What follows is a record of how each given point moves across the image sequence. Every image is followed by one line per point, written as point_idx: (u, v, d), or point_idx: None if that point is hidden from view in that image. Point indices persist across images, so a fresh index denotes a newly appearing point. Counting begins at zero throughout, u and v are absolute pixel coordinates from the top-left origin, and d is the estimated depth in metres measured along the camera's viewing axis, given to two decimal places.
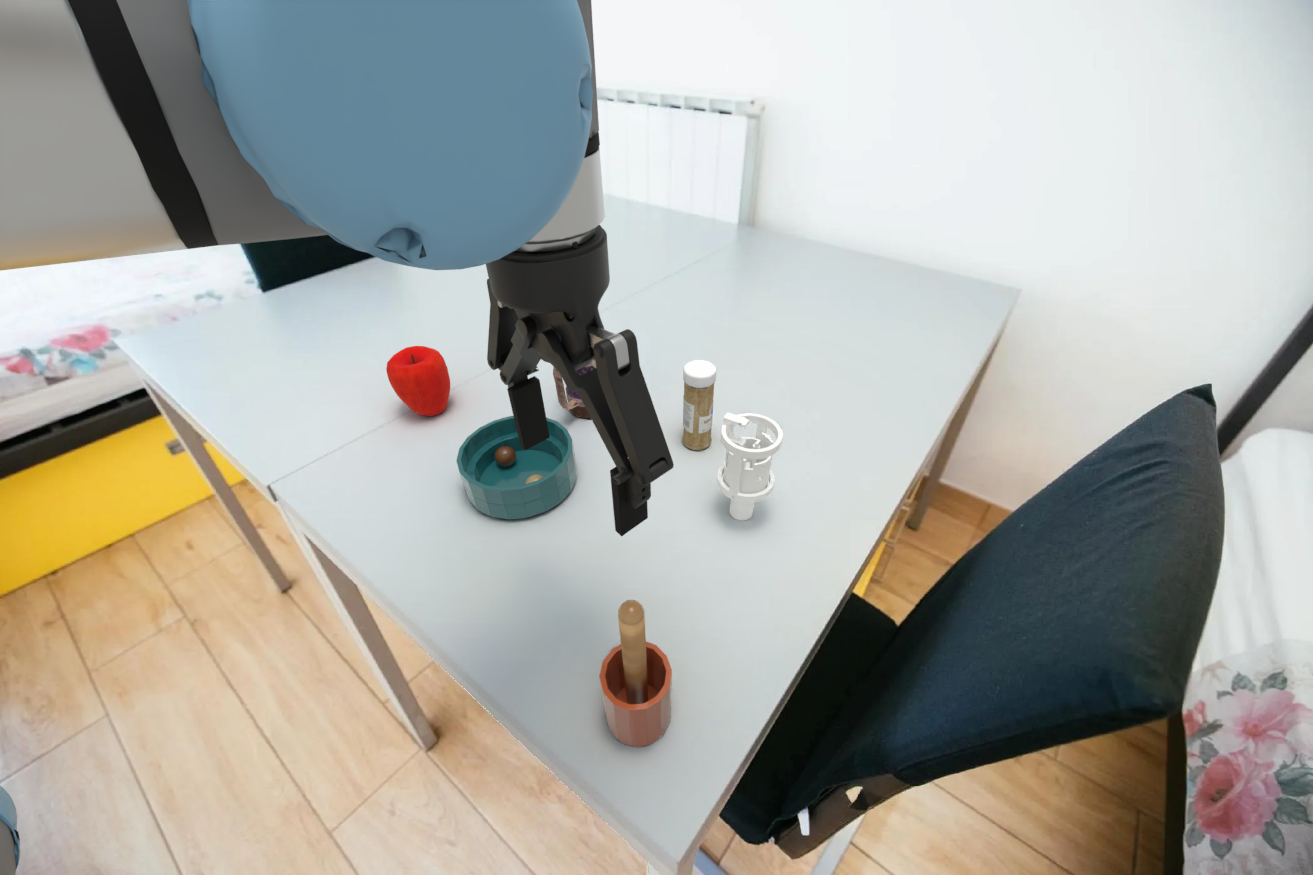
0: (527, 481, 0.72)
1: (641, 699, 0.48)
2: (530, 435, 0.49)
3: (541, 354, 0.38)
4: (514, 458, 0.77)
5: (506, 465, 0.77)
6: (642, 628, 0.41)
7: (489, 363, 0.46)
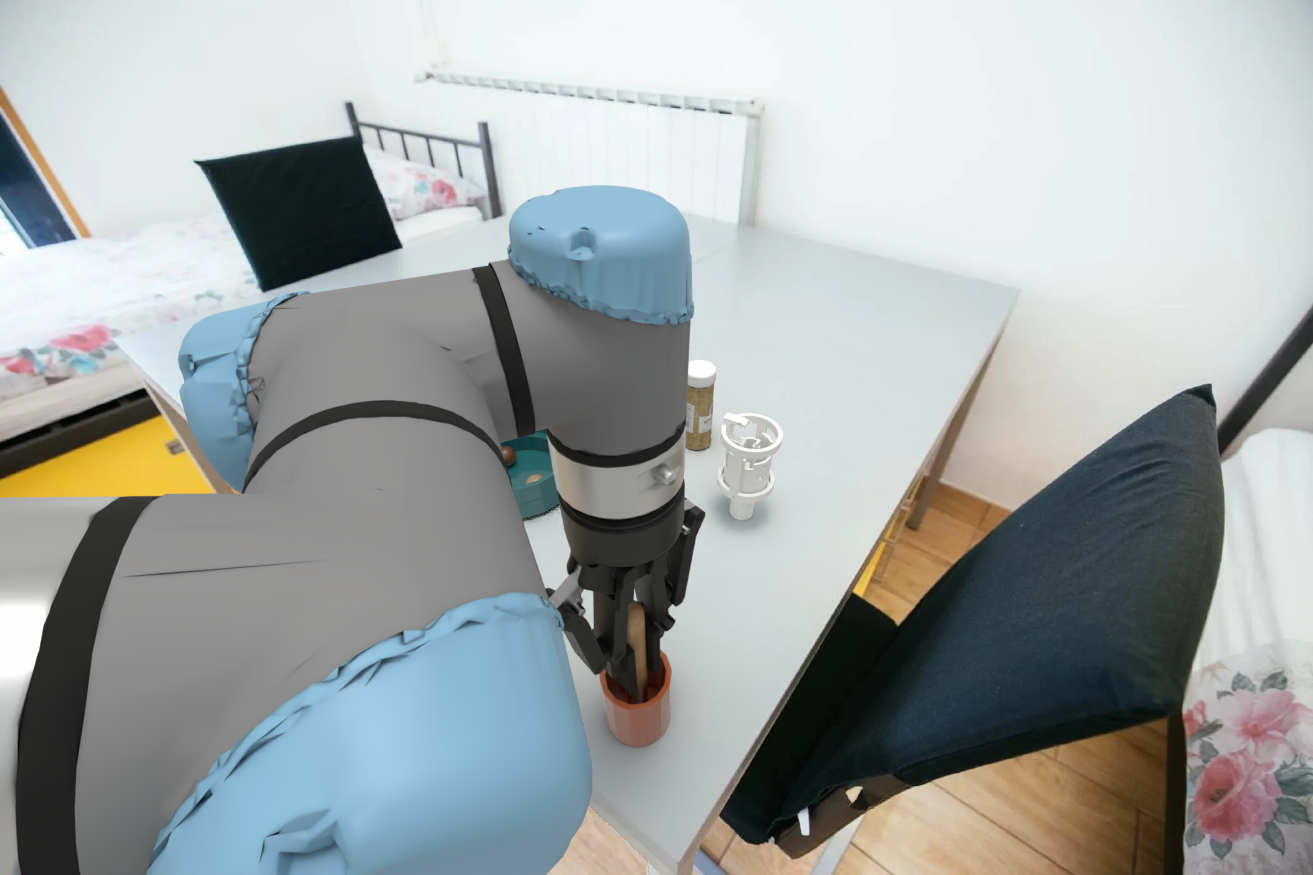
0: (527, 481, 0.72)
1: (641, 699, 0.48)
2: None
3: None
4: (514, 458, 0.77)
5: None
6: (642, 628, 0.41)
7: None
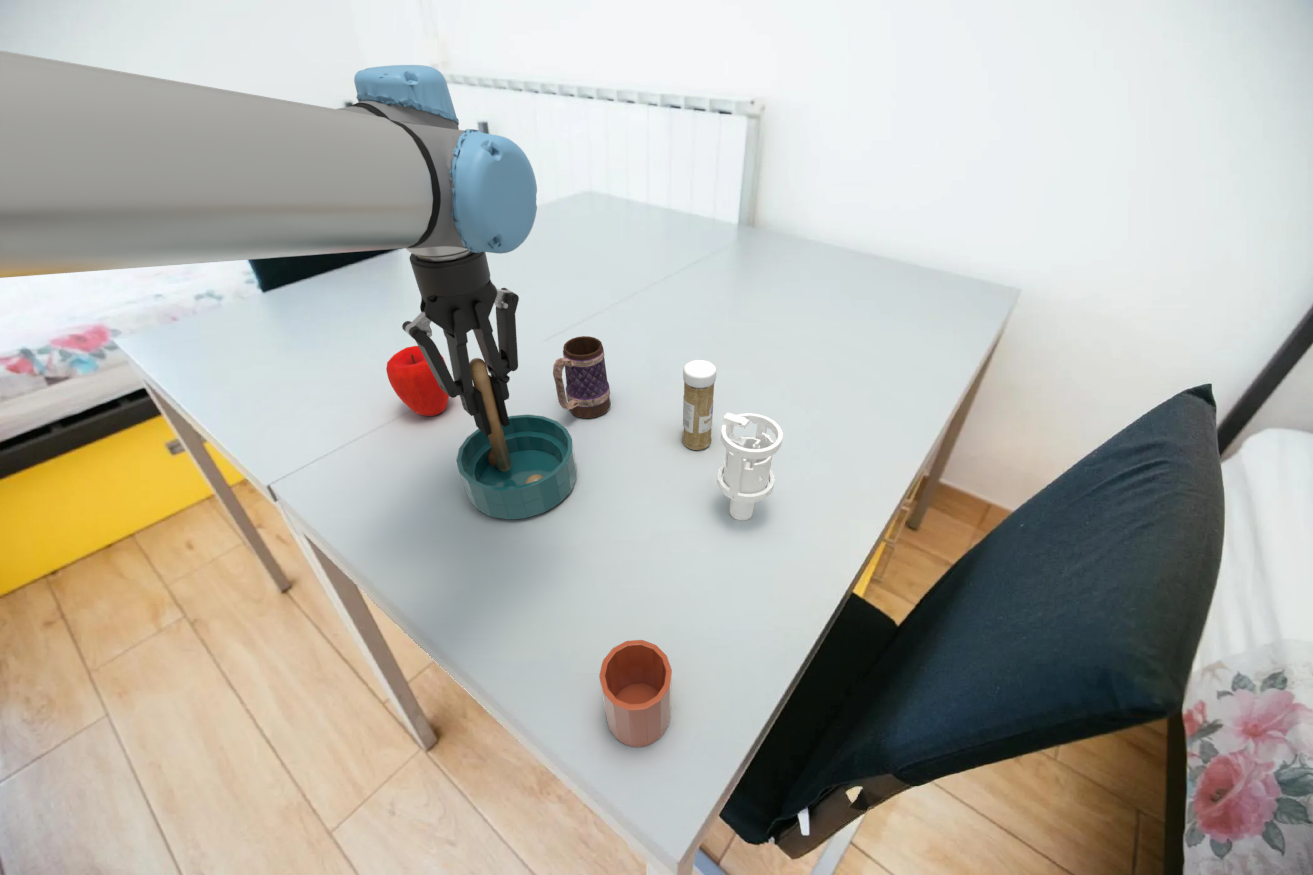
0: (527, 481, 0.72)
1: (501, 450, 0.72)
2: None
3: None
4: None
5: None
6: (485, 377, 0.65)
7: None
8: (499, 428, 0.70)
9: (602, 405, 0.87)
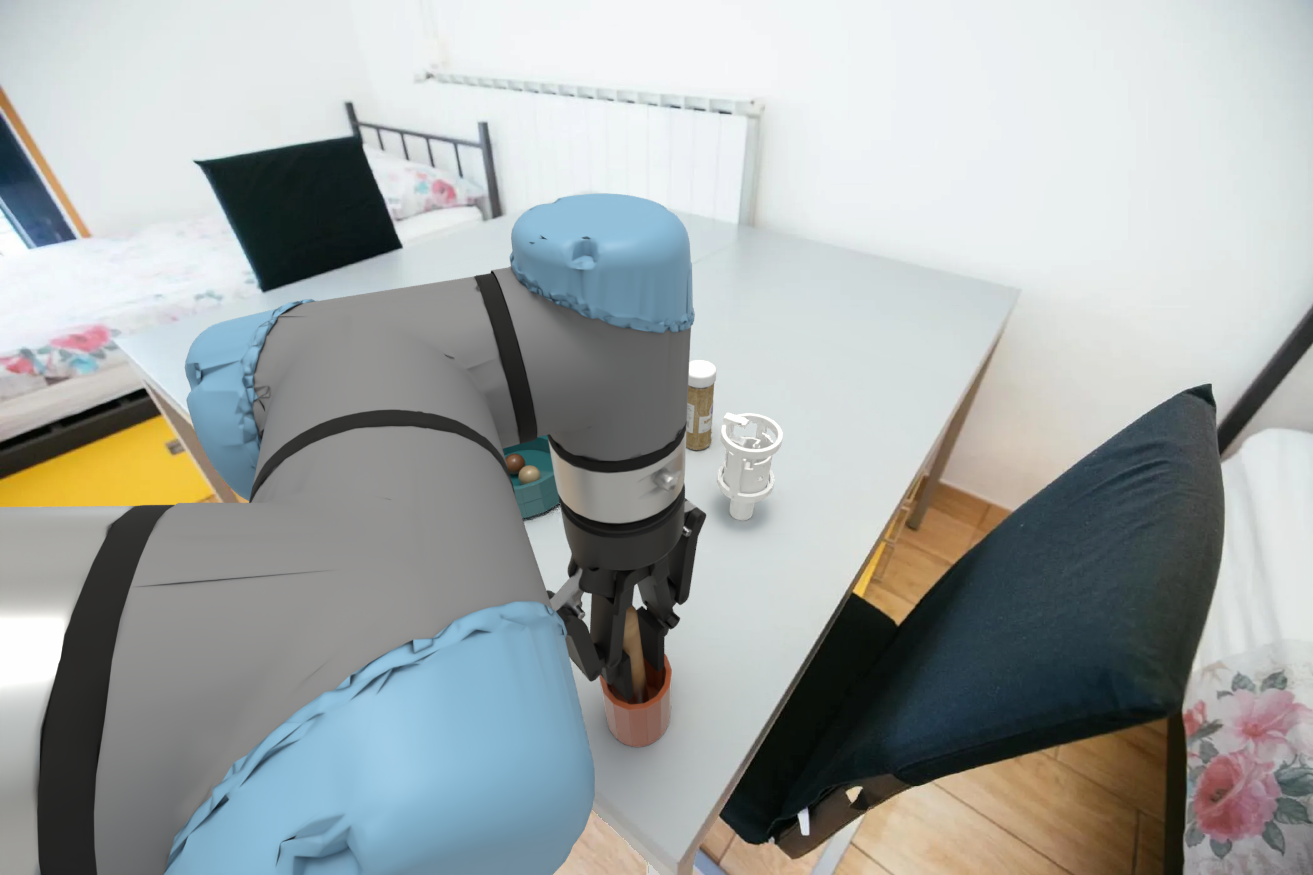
0: None
1: (642, 699, 0.48)
2: (643, 649, 0.47)
3: None
4: None
5: None
6: (636, 629, 0.41)
7: None
8: (643, 677, 0.47)
9: None
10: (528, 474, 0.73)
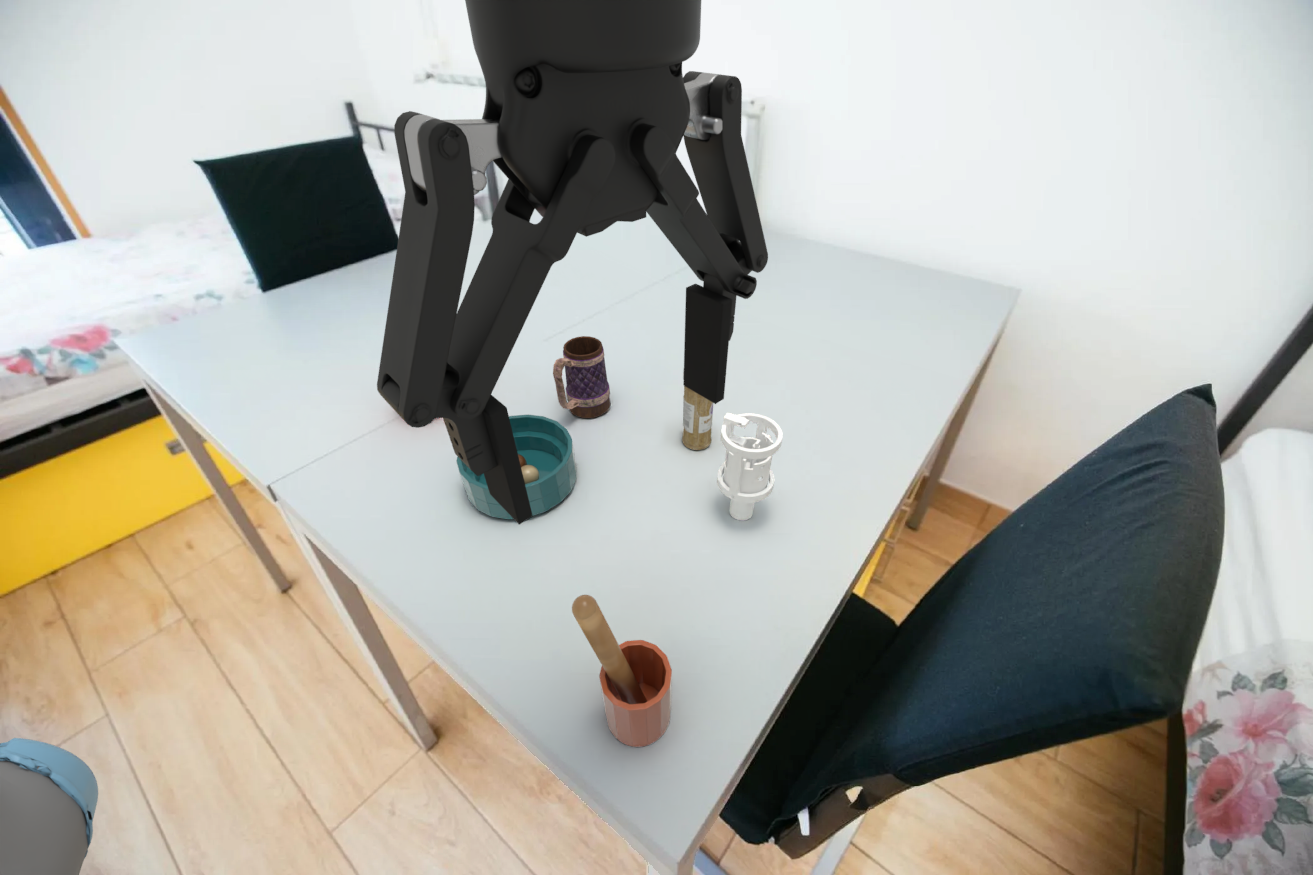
0: None
1: (633, 696, 0.49)
2: (693, 372, 0.32)
3: None
4: None
5: None
6: (600, 620, 0.42)
7: None
8: (627, 672, 0.47)
9: (602, 405, 0.87)
10: (525, 473, 0.73)
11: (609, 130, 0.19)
